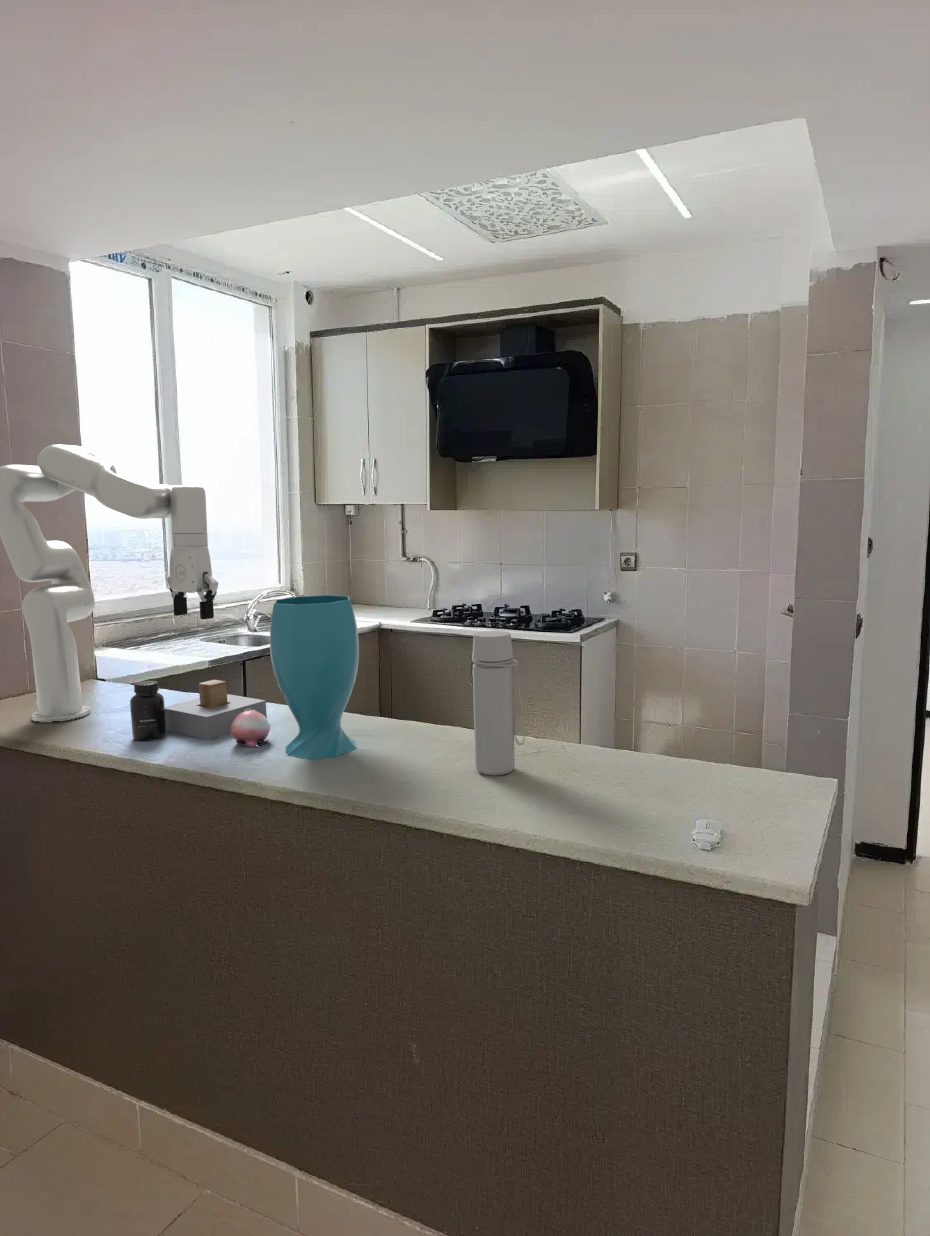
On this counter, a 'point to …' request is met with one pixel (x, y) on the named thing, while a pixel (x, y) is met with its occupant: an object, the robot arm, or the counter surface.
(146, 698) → the supplement bottle
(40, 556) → the robot arm
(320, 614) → the vase
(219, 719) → the socket block
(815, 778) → the counter surface
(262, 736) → the pink round piece
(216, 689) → the peg
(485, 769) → the water bottle
